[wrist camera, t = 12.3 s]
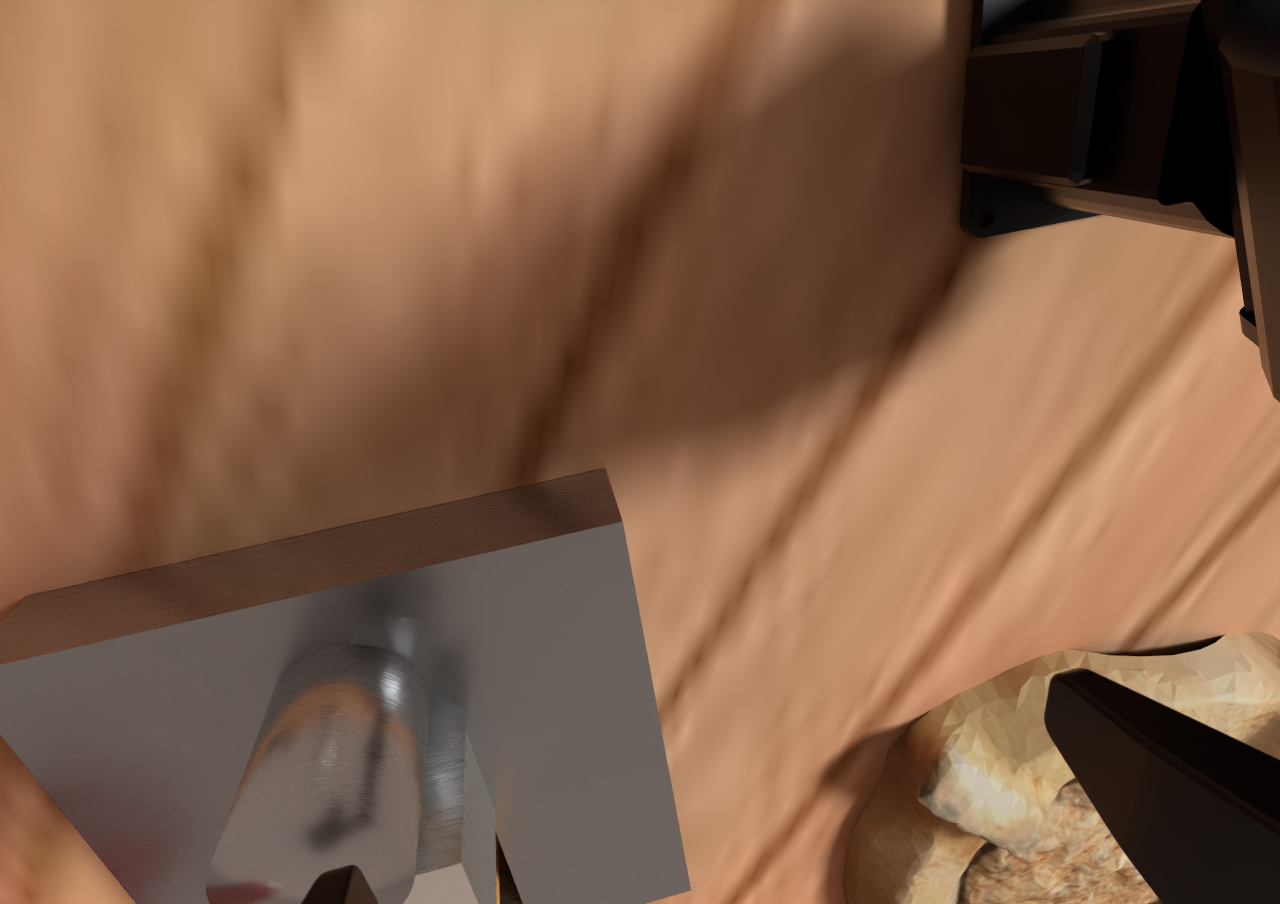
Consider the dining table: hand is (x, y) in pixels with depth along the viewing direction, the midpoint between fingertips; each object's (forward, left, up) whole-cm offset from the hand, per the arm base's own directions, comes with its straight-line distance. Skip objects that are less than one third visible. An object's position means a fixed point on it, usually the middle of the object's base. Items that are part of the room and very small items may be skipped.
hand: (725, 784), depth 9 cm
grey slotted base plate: (+8, +10, -12) cm, 18 cm away
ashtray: (-18, +25, -13) cm, 33 cm away
